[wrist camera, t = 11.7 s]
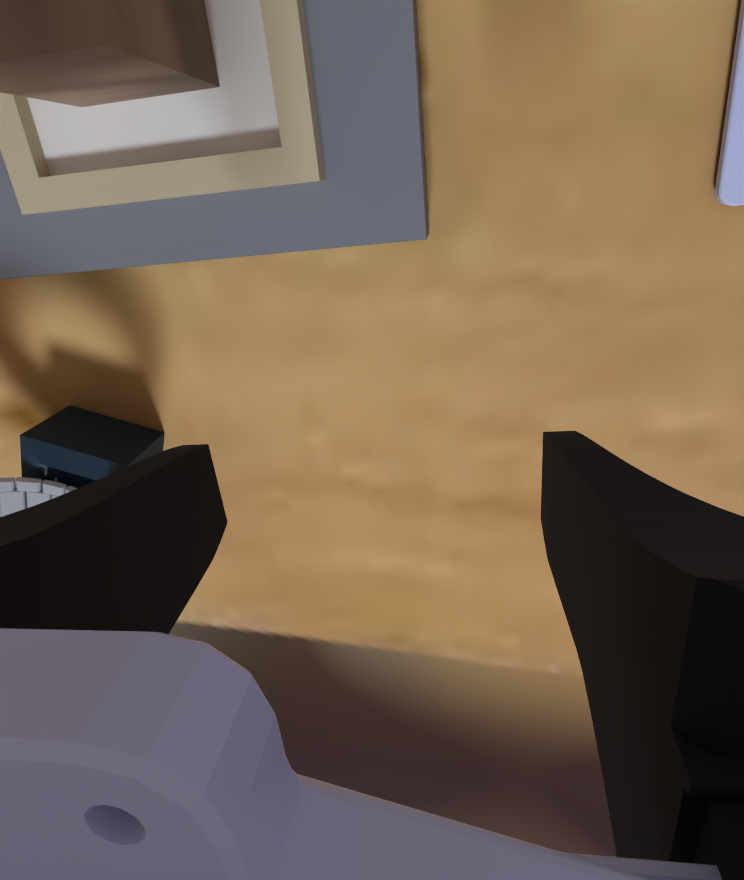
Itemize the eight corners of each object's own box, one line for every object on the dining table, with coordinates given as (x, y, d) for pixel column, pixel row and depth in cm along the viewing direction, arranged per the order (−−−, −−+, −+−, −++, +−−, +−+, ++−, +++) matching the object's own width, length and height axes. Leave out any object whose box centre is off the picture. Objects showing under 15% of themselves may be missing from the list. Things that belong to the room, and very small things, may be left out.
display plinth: (394, -372, 14) (381, -494, 11) (428, 233, 19) (425, 242, 17) (-151, -223, 16) (-260, -294, 14) (22, 272, 22) (-33, 284, 20)
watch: (27, 393, 24) (-263, 539, 15) (203, 443, 24) (31, 625, 15) (30, 497, 27) (-215, 683, 17) (190, 544, 27) (36, 757, 17)
